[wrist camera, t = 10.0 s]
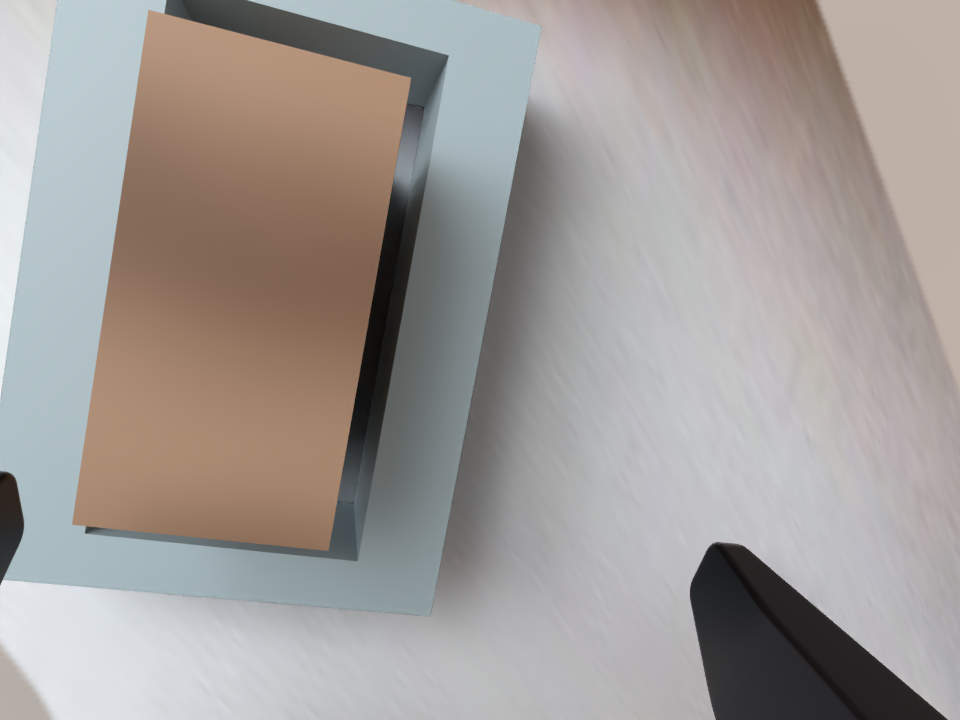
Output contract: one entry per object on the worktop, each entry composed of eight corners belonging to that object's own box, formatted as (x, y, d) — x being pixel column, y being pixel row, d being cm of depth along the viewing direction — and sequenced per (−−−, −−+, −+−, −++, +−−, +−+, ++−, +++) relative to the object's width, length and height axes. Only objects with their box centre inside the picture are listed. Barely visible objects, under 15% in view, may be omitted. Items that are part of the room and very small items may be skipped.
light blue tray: (411, 548, 21) (430, 616, 17) (59, 510, 19) (-26, 577, 14) (497, 83, 20) (541, 26, 16) (138, -14, 18) (72, -111, 14)
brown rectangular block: (333, 437, 20) (328, 551, 11) (193, 418, 19) (71, 524, 11) (379, 171, 20) (411, 77, 11) (237, 139, 19) (148, 9, 10)
